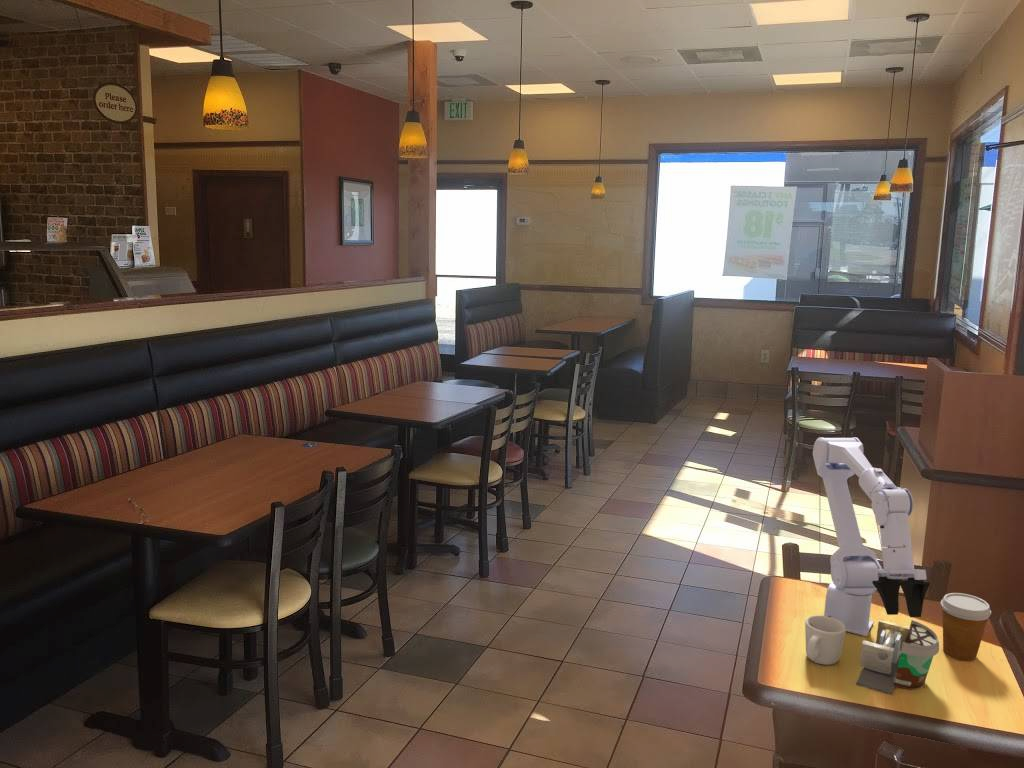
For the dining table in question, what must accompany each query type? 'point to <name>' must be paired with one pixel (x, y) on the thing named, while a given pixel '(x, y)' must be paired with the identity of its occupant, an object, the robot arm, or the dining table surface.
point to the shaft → (879, 654)
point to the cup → (824, 639)
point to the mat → (879, 679)
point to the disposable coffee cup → (963, 625)
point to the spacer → (894, 627)
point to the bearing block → (895, 645)
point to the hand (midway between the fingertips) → (903, 615)
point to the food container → (916, 656)
